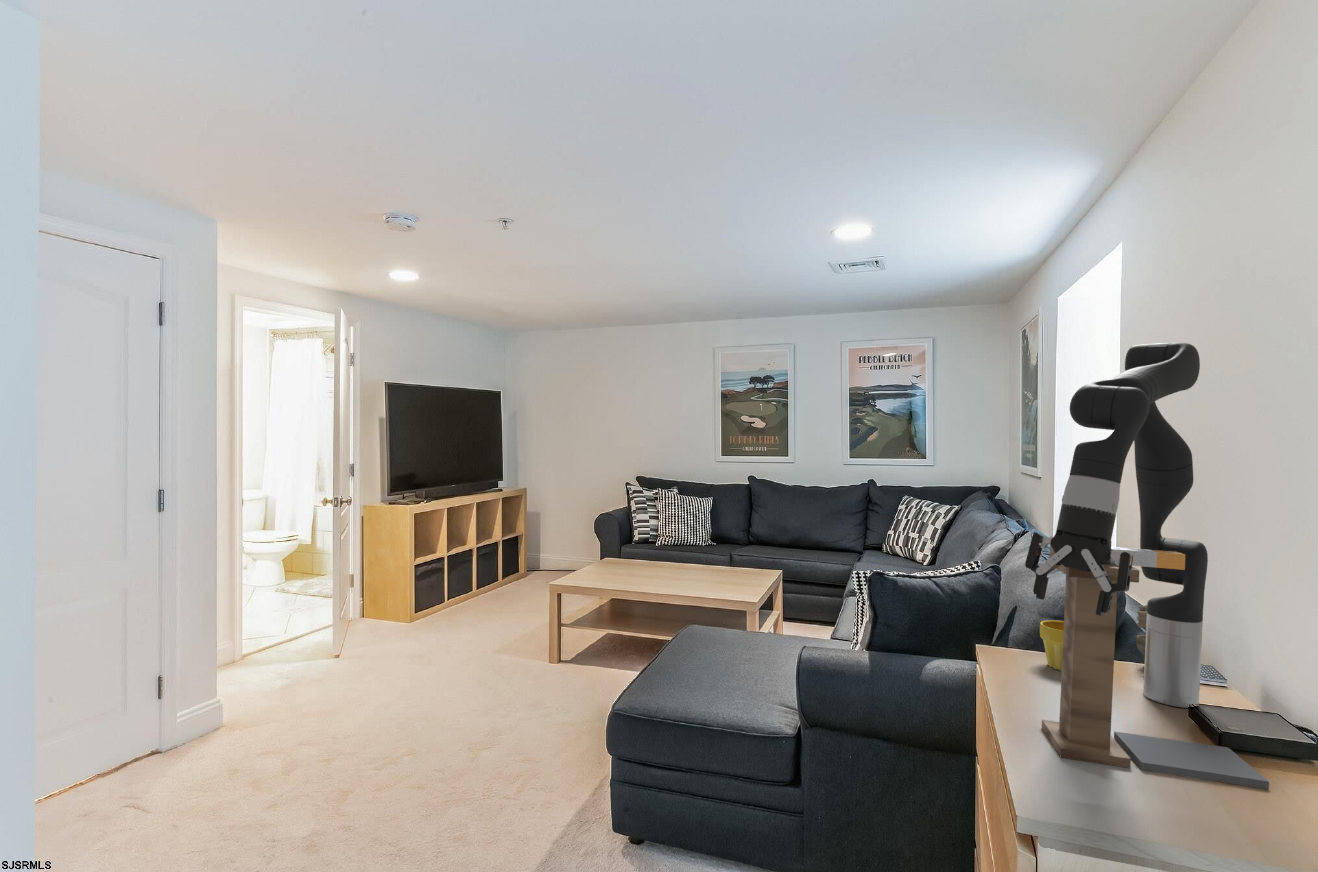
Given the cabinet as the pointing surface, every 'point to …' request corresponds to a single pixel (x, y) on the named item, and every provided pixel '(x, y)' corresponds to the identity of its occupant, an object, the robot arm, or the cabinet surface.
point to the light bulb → (1142, 623)
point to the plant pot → (1053, 641)
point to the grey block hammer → (1152, 558)
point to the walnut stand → (1087, 672)
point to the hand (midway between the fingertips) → (1068, 606)
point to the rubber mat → (1189, 760)
